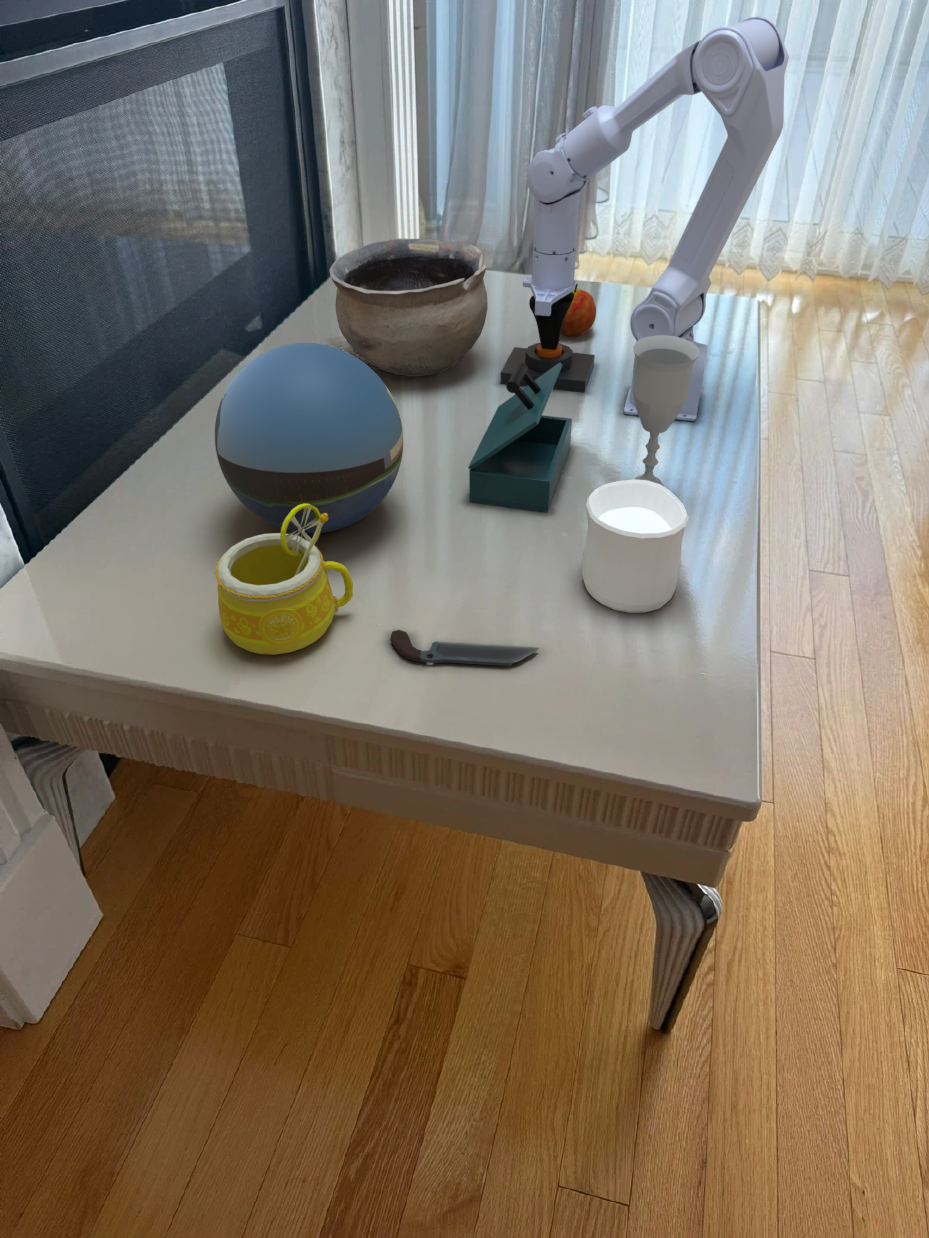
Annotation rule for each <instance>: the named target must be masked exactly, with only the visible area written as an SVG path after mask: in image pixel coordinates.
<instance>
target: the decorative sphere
mask: <svg viewBox="0 0 929 1238" xmlns="http://www.w3.org/2000/svg"><path fill="white" fill-rule="evenodd" d="M221 397H222V398H221V400H220V403H219V405H218V409H217V412H216V417H215V422H214V423H215V424H214V447H215V452H216V453H215V454H216V457H217V462H218V463H219V468H220V470H221V473H222V475H223V478H224V480H225V481H226V483H227V485H228V486H229V488H230V489H231V491H232V492H233V495H235V496H236V498H237V499H238V500H239V502H241V504H243V505H244V507H246V508H247V510H249V511H250V512H251V513H253V514H254V515H255V516H257V517H259V518H260V519H262V521H264V522H267V523H269V524H271V525H273V526H275V527H277V528H280V529H281V528H282V524H283V522H284V520H285V518H286V517H287V515H288V514H289V513H290V511H291V510H292V509H293V508H295V507H296V506H298V505H301V504H304V503H305V504H310V505H312V506H314V507H316V508H317V509H318V510H319V512H320V514H323V513H327V514H328V518H329V519H328V521H326V522H325V523H324V524H323V526H322V528H321V532H320V534H321V533H322V534H323V533H329V532H333V531H338V530H341V529H344V528H347V527H350V526H351V525H353V524H355V523H357V522H359V521H360V520H363V518H365V517H366V516H368V515H369V514H370V513H372V511H374V510H375V509H376V508H377V507H378V506H379V505H380V504H381V503H382V501H384V499H385V497H386V496H387V495H388V493H389V492H390V491H391V489H392V487H393V485H394V483H395V481H396V479H397V476H398V474H399V471H400V467H401V463H402V460H403V453H404V452H403V451H404V431H403V424H402V419H401V415H400V412H399V408H398V406H397V404H396V402H395V399H394V397H393V395H392V392H390V390H389V388H388V387H387V385H386V383H384V381H383V380H382V379H381V377H380V376H379V375H378V374H377V373H376V372H375V371H374V370H373V369H372V368H371V367H370V366H369V365H368V364H367V363H365V362H364V361H362V360H361V359H360V358H358V357H356V356H355V355H353V354H351V353H349V352H347V351H345V350H343V349H341V348H338V347H334V346H331V345H327V344H322V343H316V342H313V343H312V342H295V343H290V344H284V345H281V346H276V347H274V348H271V349H269V350H267V351H265V352H263V353H260V354H259V355H258V356H256V357H254V358H253V359H252V360H250V361H249V362H248V363H247V364H245V365H244V366H243V367H242V368H241V369H240V370H239V371H238V372H237V374H236V375H235V376H234V377H233V378H232V380H231V381H230V383H229V384H228V386H227V388H226V389H225V390H224V393H223V395H222V396H221ZM307 511H308V508H307ZM307 511H306V514H305V516H304V519H303V522H302V524H301V521H302V517H303V512H304V508H303V509H301V510H300V511H298V512H297V513H296V514H295V518H296V520H297V521H298V523H299V525H300V526H301V528H302V527H304V525H307V524H308V523H310V522H311V521H312V520H314V519H315V518H316V515H315V513H314V511H313V509H311V510H310V513H309V516H308V519H307V521H306V524H305V520H306V516H307ZM313 524H314V523H313ZM311 525H312V524H311ZM311 525H308V526H306V527H304V528H302V529H306V528H308V527H309V526H311ZM297 526H298V525H297ZM297 526H296V525H295V524H294V523H293V522H292V521H290V522H289V524H288V527H287V530H286V531H290V532H295V531H297V530H298V527H299V526H298V527H297ZM316 526H317V525H315V526H313V527H311V528H308V529H306V530H305V533H306V534H315V531H316ZM302 529H301V531H302ZM301 531H297V532H295V533H299V532H301ZM305 533H304V534H305ZM300 534H302V532H301V533H300Z"/></svg>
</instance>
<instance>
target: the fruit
mask: <svg viewBox="0 0 929 1238" xmlns="http://www.w3.org/2000/svg"><path fill="white" fill-rule="evenodd" d="M578 286H579V284H578V283H575V289H574V291H572V292H573V293H574V299H573V301H572V303H571V306H570V307H569V309H568V311H567V313H566V316H565V319H564V323H563V327H562V332H561V335H564V336H565V337H570V338H571V337H572V338H577V337H579V336H581V335H583V334H584V333H586V332H588V331H589V330H590V329H591V328H592V326H593V325H594V323H595V320H596V317H597V307H596V302H595V299H594V297H593V296H592V295H591V294H590V292H588V291H586V290H584V289H581V288H578Z"/></svg>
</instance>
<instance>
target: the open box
mask: <svg viewBox="0 0 929 1238" xmlns="http://www.w3.org/2000/svg"><path fill="white" fill-rule="evenodd" d="M572 424H573V418H570V417H569V418H568V417H561V416H552V415H543V414H542V416H541V419H540V421H539V423H538V425H537V426H535V427H534V428H532V429H531V430H529V431H528V432H526V433H525V434H523V435H522V436H520V437H519V438H517V439H516V440H515V441H513V442H512V443H510V444H509V445H507V446H506V447H504V448H503V449H501V450H500V451H498V452H497V453H496V454H494V455H493V456H491V457H490V458H488V459H487V460H485V461H484V462H482V463H481V464H479V465H478V466H477V467H475V468H474V469H472V470H470V469H469V471H468V472H469V473H468V474H469V475H468V477H469V503H472V504H473V503H474V504H481V505H489V506H497V507H505V508H512V509H520V510H528V511H533V512H534V511H535V512H542V513H543V512H544V513H549V511H550V507H551V505H552V501H553V499H554V496H555V493H556V490H557V487H558V485H559V481H560V478H561V476H562V472H563V470H564V466H565V464H566V461H567V459H568V456H569V452H570V449H571V441H572V440H571V438H572V437H571V436H572V426H573V425H572Z"/></svg>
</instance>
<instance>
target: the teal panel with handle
mask: <svg viewBox="0 0 929 1238" xmlns="http://www.w3.org/2000/svg"><path fill="white" fill-rule="evenodd" d="M561 368H562V364H561V363H558V364H557V365H555V366H554V367H553V368H551V369H550V370H548V371H547V372H546V373H544V374H543V375H542V376H540V377H539V378H537V379H536V380H535V381H534V380H533V378H532V377H531V376H530V375H529V374H528V372H527V370H528V368H527V366H526V364H524V363H518V364H517V365H516V367H515V369H514V371H513V373H512V375H511V377H510V379H509V381H508V383H507V384H505V385H506V387H505V388H506V390H507V392H508V393H511V394H514V395H512V396H510V398H508V399H507V400H506V401H504V402H503V403H501V404H500V405H498V407H497V409H496V410H495V413H494V415H493V417H492V419H491V420H490V423H489V424H488V427H487V429H486V430H485V433H484V435H483V437H482V438H481V441H480V443H479V444H478V447H477V449H476V451H475V452H474V455H473V456H472V459H471V461H470V463H469V465H468V467H467V468H468V469H469V471H470V470H472V469H474V468H475V467H477V466H478V465H479V464H481V463H482V462H484V461H485V460H487V459H488V458H490V457H491V456H493V455H494V454H496V453H497V452H498V451H500V450H501V449H503V448H504V447H506V446H507V445H509V444H510V443H512V442H513V441H515V440H516V439H517V438H519V437H520V436H522V435H523V434H525V433H526V432H528V431H529V430H531V429H532V428H534V427H535V426H537V425H538V423H539V421H540V419H541V416H542V415H543V414H544V411H545V408H546V406H547V404H548V402H549V399H550V397H551V395H552V392H553V390H554V389H553V387H554V385H555V382H556V380H557V377H558V375H559V373H560V370H561ZM523 380H524V381H525V382H526V383H527V384H528V386H524V388H521V386H520V385H521V383H522V381H523Z"/></svg>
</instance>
